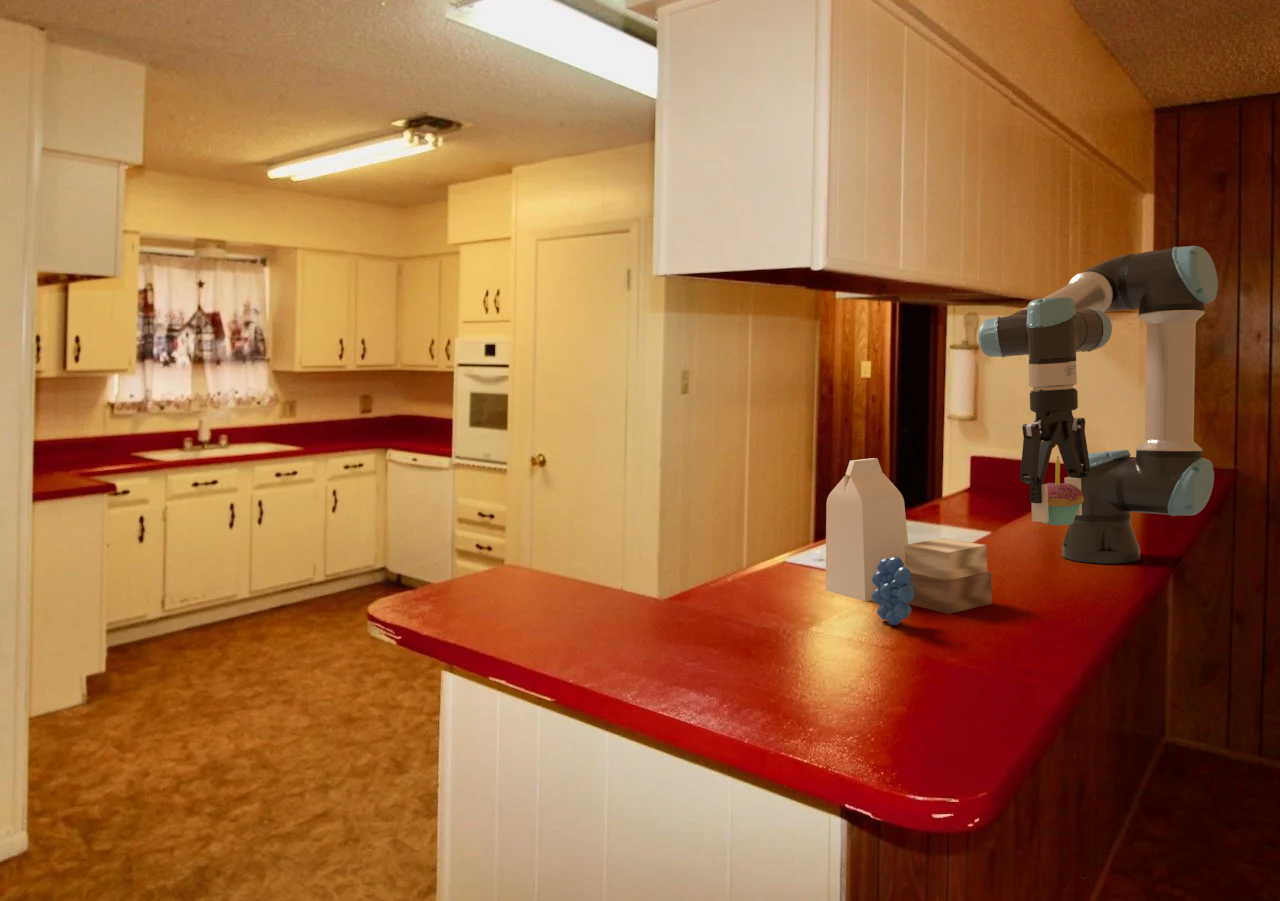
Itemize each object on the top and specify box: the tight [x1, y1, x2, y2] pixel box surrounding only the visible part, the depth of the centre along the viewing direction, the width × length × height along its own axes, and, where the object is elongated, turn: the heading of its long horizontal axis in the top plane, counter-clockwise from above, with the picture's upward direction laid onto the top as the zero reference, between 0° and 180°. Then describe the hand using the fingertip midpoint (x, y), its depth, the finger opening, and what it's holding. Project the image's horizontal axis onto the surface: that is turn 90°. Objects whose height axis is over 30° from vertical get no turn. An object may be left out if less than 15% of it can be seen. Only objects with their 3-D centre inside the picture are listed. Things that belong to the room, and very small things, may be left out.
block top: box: [905, 537, 988, 581], centre depth 162 cm, size 10×10×5 cm
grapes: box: [871, 556, 915, 626], centre depth 149 cm, size 12×7×12 cm, turn 14°
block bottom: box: [908, 571, 993, 615], centre depth 162 cm, size 11×11×6 cm
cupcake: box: [1042, 455, 1084, 526], centre depth 155 cm, size 9×8×12 cm
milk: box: [825, 457, 909, 602], centre depth 173 cm, size 12×12×26 cm
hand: (1057, 517), depth 155 cm, fingers closed on cupcake, 8 cm apart
